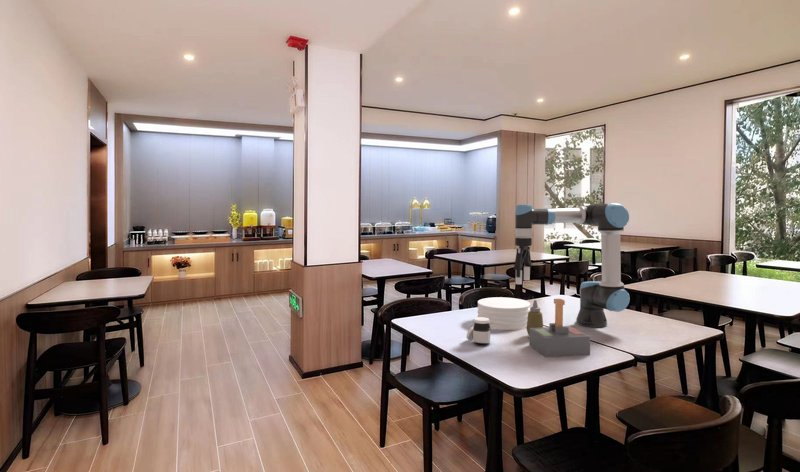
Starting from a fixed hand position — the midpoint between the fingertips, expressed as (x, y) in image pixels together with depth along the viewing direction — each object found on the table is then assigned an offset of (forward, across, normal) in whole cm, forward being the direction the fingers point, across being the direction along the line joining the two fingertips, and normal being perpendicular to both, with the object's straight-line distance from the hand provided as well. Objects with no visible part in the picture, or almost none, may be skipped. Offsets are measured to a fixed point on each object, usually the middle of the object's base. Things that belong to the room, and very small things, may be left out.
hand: (522, 282), depth 200 cm
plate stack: (+28, -26, -17) cm, 42 cm away
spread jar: (+28, +14, -16) cm, 36 cm away
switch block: (+28, +6, +18) cm, 34 cm away
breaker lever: (+19, +6, +18) cm, 27 cm away
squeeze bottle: (+28, -8, +4) cm, 29 cm away
